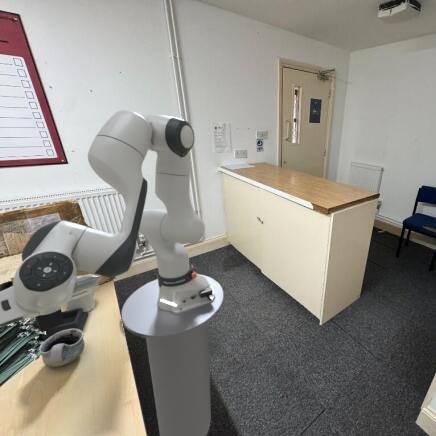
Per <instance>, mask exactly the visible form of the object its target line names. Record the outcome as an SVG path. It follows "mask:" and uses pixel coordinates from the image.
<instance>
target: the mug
mask: <svg viewBox="0 0 436 436" xmlns="http://www.w3.org/2000/svg"><path fill="white" fill-rule="evenodd" d="M84 336H85V333H84V331H81V330H79V329H67V330H63V331H61V332H58V333H56V334H54V335H53V336H51V337H49V338H48V339H47V340H45V341H42V343H41V344H40V346H39V348H38V352H39V354H40V355H41V358H42V359H41V360H42V362H43V364H44V365H45V366H48V367H53V368H59V367H62V366H64V365H67V364H70V363H71V362H73V361H75V360H76V359H77V358H78V357H80V355H81V354H82V353H83V351H84V350H85V344H86V343H85V339H84Z"/></svg>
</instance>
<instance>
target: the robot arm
mask: <svg viewBox="0 0 436 436" xmlns="http://www.w3.org/2000/svg"><path fill="white" fill-rule="evenodd" d="M194 143H195V132H194V129H193V127H192V126H191V124H190V122H188V121H187V120H185V119H183V118H180V117H177V116H169V115H163V114H158V113H157V114H156V113H154V114H152V113H151V114H150V113H149V114H148V113H138V112H136V111H132V110H129V109H123V110H122V109H121V110H118V111H116V112H114V113H113V115H111V117H110V118H109V119H107V121H106V122H105V123H104V124H103V125H102V127H101V128H100V129H99V131H98V132H97V134H96V135H95V137H94V139H93V140H92V143H91V144H90V146H89V148H88V152H87V161H88V164H89V166H90V168H91V169H92V171H93V172H94V174H96V175H97V176H98V177H99V178H100V179H101V180H102V181H103V182H104V183H106V184H107V185H109V186H110V187H112V188H113V189H114V190H115V191H117V192H118V193H119V194H120V196H121V197H122V198H123V200H124V203H125V209H124V212H123V217H122V221H121V226H120V229H119V232H117V233H110V232H107V231H103V230H100V229H97V228H93V227H89V226H86V225H82V224H79V223H75V222H71V221H68V220H64V219H60V220H57V221H56V220H55V221H53V222H50V223H48V224H46V225H43V226H40V227H39V228H38V229H36V231H35V232H34V233H33V234H32V235H31V237H30V238H29V239H28V241H27V243H26V244H25V246H24V248H23V250H22V253H21V261H22V262H21V263H20V265H19V266H18V268H17V269H16V271H15V274H14V276H13V281H12V285H11V286H10V287H7V288H5V289H3V290H0V328H3V327H5V326H8V325H10V324H13V323H16V322H21V321H22V320H27V319H32V318H35V317H37V316H39V315H46V314H50V313H53V312H56V311H58V310H60V309H61V310H62V309H63V308H64V307H66V304H67V303H68V302H69V301H72V300H74V299H77V298H80V297H82V296H85V295H88V294H90V293H93V294H94V293H95V292H97V291H99V290H100V285H99V282H100V281H101V280H102V279H103V278H102V277H106V278H109V279H111V278H114V277H118V276H120V275H123V274H125V273H127V272H129V270H130V269H131V268H132V266H133V264H134V262H135V260H136V255H137V241H138V236H139V233H140V234H141V235H142V236H143V237H144V238H145V239H146V240H147V242H148V243H149V246H151V248H152V250H153V253H154V255H155V259H156V263H157V269H158V271H157V279H158V284H159V297H158V301H157V305H158V307H159V308H160V309H162V310H165V311H170V312H172V313H174V314H180V313H183V312H186V311H188V310H191V309H194V308H197V307H199V306H202V305H205V304H208V303H210V302H213V301H214V299H215V290H214V288H213V286H212V285H211V284H210V283H209V282H208V281H207V279H206V278H205V277H204V276H202V275H203V274H201V275H199V274H200V273H197V272H196V270H195V268H194V266H193V265H190V255H189V250H188V249H187V247H185V246H184V245H185V244H186V245H187V244H188V245H189V244H190V245H191V244H192V245H193V244H194V245H195V244H197V243H199V242H200V241H201V240H202V239H203V237H204V236H205V232H206V226H205V222H204V220H203V219H202V218H201V217H200V216H199V214H197V212H196V211H195V209H194V206H193V204H192V201H191V195H190V193H191V192H190V191H191V189H190V183H191V160H190V153H189V152H191V150H192V149H193V146H194ZM148 151H150V152H155V153H156V155H157V156H156V161H155V172H154V173H155V175H154V194H155V196H156V198H158V199H159V200H160V201H161V202H162V203H163V205H164V207H165V209H161V208H146V209H145V204H146V201H147V200H146V199H147V194H148V181H147V179H146V178H145V177H144V176H143V171H142V170H143V169H142V167H143V163H144V160H145V159H146V156H147V154H148ZM78 271H82V272H88V273H89V274H85V275H81V276H82V277H79V278H77V276H78Z"/></svg>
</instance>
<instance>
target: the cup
mask: <svg viewBox="0 0 436 436" xmlns="http://www.w3.org/2000/svg"><path fill="white" fill-rule="evenodd" d="M82 276H83V275H77V278H79V277H82ZM95 306H96V300H95V295H94V292H93V293H90V294H88V295H85V296H82V297H80V298H77V299H74V300H72V301H69V302H68V303H67V304H66V305H65V307H66V311H69V310H74V309H80V308H82V309H83V312H87V311H88V312H90V311H92V310H93V309H94V308H95Z"/></svg>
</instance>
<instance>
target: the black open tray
mask: <svg viewBox="0 0 436 436" xmlns="http://www.w3.org/2000/svg"><path fill="white" fill-rule="evenodd" d="M62 315H63V318H64V322H65V323H63V324H61V325H59V326H56V327H54V328H52V329H49V330H47V331H46V334H47V335H45V336H43V335H42V336H41V341H42V342H44V341H45V340H47V339H48V338H49V337H51V336H53V335H54V334H56V333H58V332H61V331H63V330H67V329H79V330H81V331H82V332H84V328H85V327H86V323H87V321H88V318H89V311H87V312H83V309H82V308H80V309H74V310H69V311H67V310H65V311H62ZM42 338H44V339H42Z"/></svg>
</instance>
